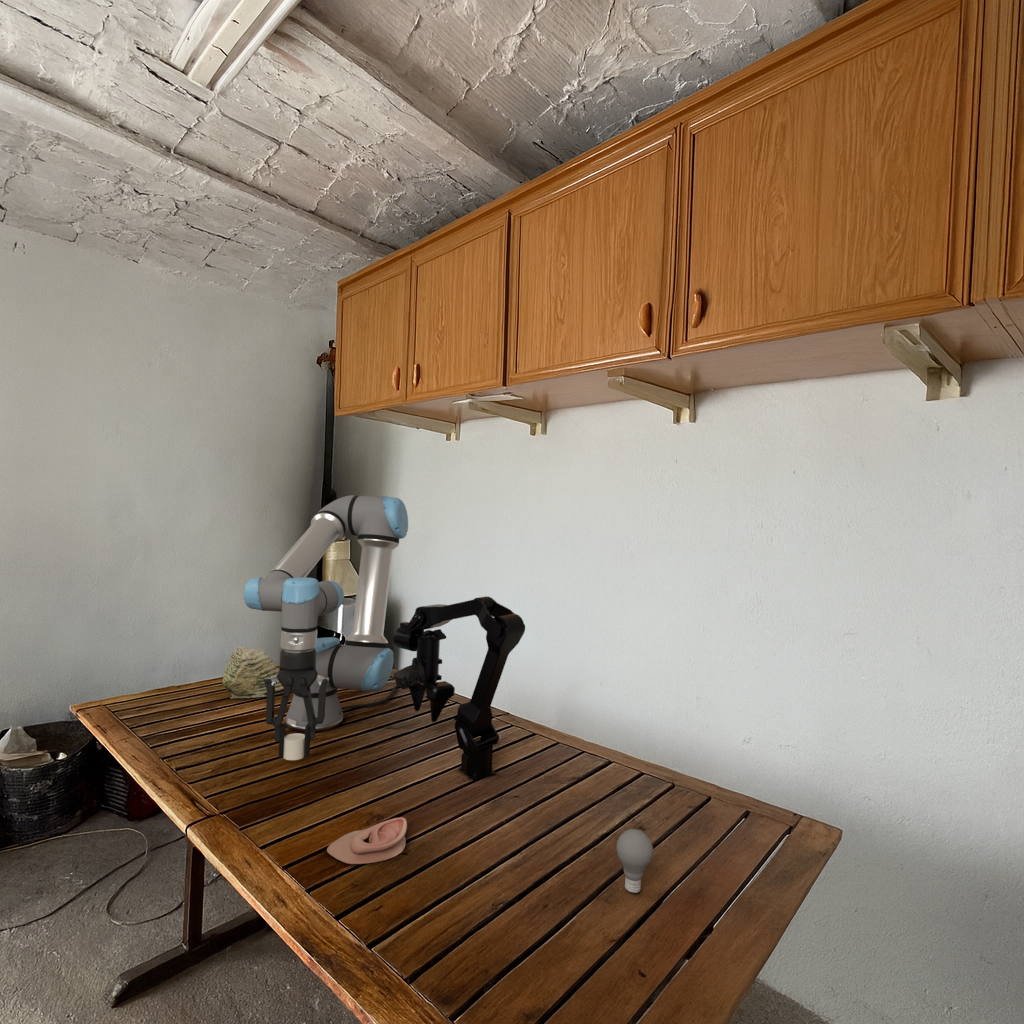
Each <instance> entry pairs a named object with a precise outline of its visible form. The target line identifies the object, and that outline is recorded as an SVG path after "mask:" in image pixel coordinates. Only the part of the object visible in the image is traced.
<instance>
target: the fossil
mask: <svg viewBox="0 0 1024 1024" xmlns="http://www.w3.org/2000/svg"><path fill="white" fill-rule="evenodd" d="M279 669H280V668H278V667H277V665H276V663H275V662H274V660H273V659H272V658H271V657H270V656H269V655H268V654H267V653H266V652H265V650H264V649H263V648H260V647H258V648H251V647H247V646H246V647H245V646H238V647H237V648H236V649H235V650H233V651H232V653H231V656H230V657H229V659H228V660H227V663H226V666H225V668H224V671H223V675H222V676H223V677H222V685H223V687H224V688H225V690H226V691H228V693H229V698H230V699H250V698H264V697H267V689H266V686H265V683H264V681H265V680H266V678H267V677H268V676H271V677H272V676H275V675H277V674H278V672H279ZM283 692H284V687H283V686H282V685H281V683H280V682H279V681H278V680H277V684H276V686H275V696H276V695H281V694H283Z"/></svg>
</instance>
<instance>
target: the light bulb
mask: <svg viewBox="0 0 1024 1024" xmlns="http://www.w3.org/2000/svg"><path fill="white" fill-rule="evenodd" d="M615 849H616V854H617V857H618V859H619V861H620V863H621V865H622V867H623V873H624V874H623V875H624V876H625V878H624V888H625V890H627V891H628V892H630V893H634V894H635V893H639V892H640V891H641V889H642V887H641V886H642V879H643V877H644V875H645V871H646V868H647V867H648V866H649V864H650V863H651V861H652V859H653V855H654V847H653V843H652V841H651V838H649V836H648V835H647V834H646V833H645V832H643V831H642V830H641V829H636V828H629V829H627V830H625V831H623V832H622V833H621V834H620V835H619V837H618V839H617V841H616V847H615Z"/></svg>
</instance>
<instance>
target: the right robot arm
mask: <svg viewBox="0 0 1024 1024" xmlns="http://www.w3.org/2000/svg"><path fill="white" fill-rule="evenodd" d="M473 616H476V617H477V619H478V622H479V625H480V627H481V628H482V629H484V631H485V632H486V634H485V640H486V644H487V650H486V654H485V657H484V660H483V663H482V666H481V669H480V672H479V675H478V677H477V681H476V684H475V686H474V689H473V692H472V695H471V697H470V701H468V702H465V703H461V704H459V705H458V707H457V712H456V716H455V717H454V718H453V720H454V730H455V735H456V740H457V744H458V745H457V746H458V749H460V750H462V753H461V763H460V766H459V767H458V771H460V772H461V773H463V774H464V775H465V776H467V777H468V778H469V779H470V780H477V779H481V778H486V777H489V776H493V775H496V771H495V770H494V769H493V753H494V751H493V749H494V745H498V742H499V740H500V735H499V733H498V732H497V730H496V728H495V727H494V725H493V722H492V721H493V717H494V716H493V712H492V707H491V706H492V703H493V700H494V697H495V695H496V691H497V689H498V686H499V683H500V680H501V677H502V675H503V671H504V669H505V666H506V663H507V660H508V657H509V655H510V653H511V652H513V650H514V649H515V648H516V647H517V646H518V644H519V643H520V641H521V640H522V638H523V636H524V635H525V631H526V624H525V623H524V620H523V619H522V616H520V614H517V613H515V612H514V611H512V609H510V608H508V607H506V606H505V605H502V604H501V603H498V602H497V601H496V600H495V599H494V598H493V597H492V596H491V597H490V596H486V595H485V596H480V597H475V598H473V599H470V600H465V601H461V602H456V603H451V604H439V603H437V604H429V605H422V606H418V607H416V608H415V610H414V613H413V616H412V617H411V619H410V620H409V621H403V622H399V626H398V628H397V629H396V631H395V632H394V634H393V637H392V640H393V644H394V646H395V647H397V648H398V649H402V650H406V651H410V652H416V657H413V658H412V660H411V664H410V665H408V666H405V667H402V668H400V669H399V670H397V671H395V672H393V674H392V675H393V678H394V681H395V684H396V685H397V686H399V687H398V688H400V689H401V690H407V689H408V690H409V692H410V697H411V701H412V704H413V708H414V711H415V712H419V711H420V710H421V707H422V704H423V702H424V701H423V700H424V697H425V699H427V700H428V701H429V704H430V705H429V706H430V707H429V708H430V720H431V723H436V722H437V721H438V719H439V717H440V716H441V714H442V712H443V709H444V707H445V706H446V704H448V701H449V700H450V699H452V697H455V695H456V694H455V692H456V687H455V686H454V685H453V684H451V683H450V682H448V681H446V680H443V681H442V678H443V676H442V675H441V674H439V672H440V665H442V664H443V659H442V658H440V649H441V648H440V645H441V641H442V640H446V639H447V635H446V634H445V633H444V632H443V631H442V629H441V628H440V627H442V626H445V625H447V624H448V623H450V622H451V621H453V620H457V619H462V618H467V617H473ZM435 628H438V629H435ZM431 629H434V630H431ZM396 685H395V686H396ZM425 693H426V695H425Z"/></svg>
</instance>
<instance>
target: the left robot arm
mask: <svg viewBox="0 0 1024 1024" xmlns="http://www.w3.org/2000/svg"><path fill="white" fill-rule="evenodd" d="M408 515H409V514H408V511H407V507H406V505H405V503H404V501H403V500H402V499H400V497H399V498H398V497H394V496H387V495H385V496H384V495H382V496H380V495H357V494H350V495H346V496H342V497H339V498H337V499H335V500H333V501H331V502H330V503H328V504H326V505H325V506H323V507H322V508H320V510H318V511H317V512H316V513H315V514H314V515H313V517H312V518H311V521H310V525H309V527H308V528H307V529H306V531H305V532H304V533H303V534H302V535H301V537H299V539H297V540H296V542H295V543H294V544H293V545H292V546H291V547H290V549H289V550H288V551H287V552H286V553H285V555H283V556H282V558H280V560H279V561H278V562H277V563H276V565H275V566H274V567H273V568H272V569H271V571H270V572H269V573H268V574H267V575H266V576H265V577H261V576H260V577H259V576H258V577H253V578H250V579H249V580H248V581H247V582H246V584H245V586H244V589H243V600H244V604H245V605H246V606H247V607H248V608H249V609H251V610H256V611H257V610H258V611H263V612H280V613H281V629H280V646H279V647H280V649H282V650H281V651H280V652H279V668H278V669H279V672H278V674H277V675H275V676H272V677H271V676H268V677H267V678H266V680H265V681H264V683H265V686H266V689H267V696H266V707H265V708H266V710H265V723H266V725H271V726H273V727H274V736H273V737H274V738H273V739H274V742H278V759H283V748H284V737H285V736H286V731H287V729H289V730H291V731H294V732H295V731H296V732H301V733H304V735H305V745H304V758H309V755H310V753H311V742H313V741H314V740H315V738H316V733H317V732H325V731H329V730H332V729H335V728H337V727H339V726H340V725H342V723H343V722H344V714H343V711H344V710H350V709H356V708H366V707H373V706H377V705H381V704H383V703H385V702H388V701H389V699H390V698H391V697H393V695H394V693H395V690H397V689H398V688H400V687H399V686H397V685H395V686H393V687H392V689H391V692H390V693H389V694H388V696H386V697H385V698H384V699H381V700H378V701H374V702H368V703H359V704H351V705H343V706H341V702H340V699H339V695H338V689H342V690H351V691H362V692H363V693H364V692H365V693H366V692H379V691H381V690H382V689H383V688H384V687H385V686H386V684H387V683H388V681H389V679H390V677H391V675H392V671H393V668H394V661H395V657H394V652H393V650H392V649H391V648H389V647H388V645H389V641H388V640H387V638H386V637H385V635H384V631H385V622H386V616H387V615H386V614H387V605H388V598H389V597H388V595H389V586H390V578H391V571H392V570H391V569H392V561H393V560H392V559H393V551H394V550H395V549H396V548H397V547H399V545H400V540H402V539H404V538H406V537H407V535H408V531H409V516H408ZM346 536H347V537H348V536H355V537H356V536H357V543H358V544H359V545H360V546H361V553H360V563H359V571H358V577H357V587H356V595H355V602H354V612H353V618H352V627H351V633H350V634H349V635H348V636H347V637H346V638H345V640H344V644H340V643H341V641H340V639H339V638H338V637H334V636H331V637H330V636H329V637H318V622H319V621H318V619H319V617H321V616H324V615H328V614H331V613H333V612H335V611H336V610H338V609H339V608H340V607H342V605H343V603H344V601H345V593H344V589H343V587H342V585H340V584H339V582H337V581H334V580H321V581H319V580H318V579H316V578H314V577H308V575H309V574H310V572H311V571H312V570H313V569H314V568H315V566H316V565H317V564H318V562H319V561H320V560H321V559H322V557H323V556H324V555H325V553H327V551H328V550H329V549H330V547H331V546H332V545H333V544H334V543H337V542H339V541H340V540H341V539H343V537H346ZM277 680H278V681H279V682H280V683H281V685H282V686H283V687H284V692H283V693H282V696H281V699H280V704H279V708H278V710H277V714H276V716H275V711H276V710H275V709H276V707H275V704H276V695H275V686H276V684H277ZM291 694H293V695H292V696H293V697H292V699H291V702H290V704H289V708H288V711H287V707H288V703H289V700H290V697H291ZM286 711H287V713H286ZM284 718H285V723H283V722H284Z"/></svg>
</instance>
